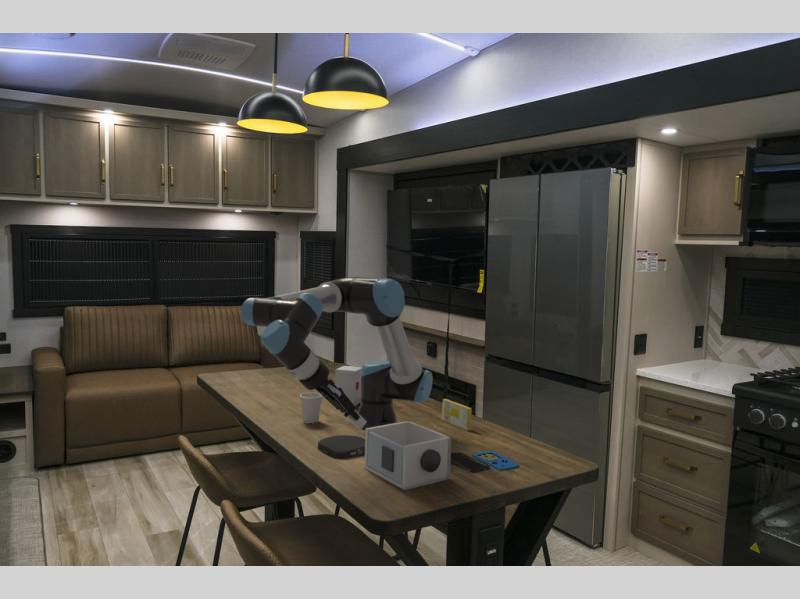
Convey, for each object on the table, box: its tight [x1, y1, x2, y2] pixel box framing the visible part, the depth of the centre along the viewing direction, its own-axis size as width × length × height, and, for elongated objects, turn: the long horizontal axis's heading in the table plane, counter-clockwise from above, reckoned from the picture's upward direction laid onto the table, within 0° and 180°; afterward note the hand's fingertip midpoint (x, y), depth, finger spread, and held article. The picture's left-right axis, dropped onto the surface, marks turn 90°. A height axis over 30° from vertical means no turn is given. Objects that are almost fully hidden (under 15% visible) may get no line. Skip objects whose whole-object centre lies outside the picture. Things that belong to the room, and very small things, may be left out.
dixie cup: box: [299, 391, 323, 424], centre depth 234 cm, size 8×8×10 cm
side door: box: [368, 431, 403, 483], centre depth 178 cm, size 2×16×10 cm, turn 36°
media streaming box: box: [317, 434, 365, 459], centre depth 204 cm, size 15×15×3 cm
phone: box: [450, 451, 491, 474], centre depth 193 cm, size 8×1×15 cm
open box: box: [364, 420, 452, 491], centre depth 182 cm, size 16×22×12 cm
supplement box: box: [334, 365, 363, 407], centre depth 260 cm, size 9×9×15 cm
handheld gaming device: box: [471, 450, 519, 472], centre depth 196 cm, size 8×1×15 cm
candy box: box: [441, 398, 473, 432], centre depth 234 cm, size 16×2×8 cm, turn 31°
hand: (362, 425), depth 173 cm, fingers closed
